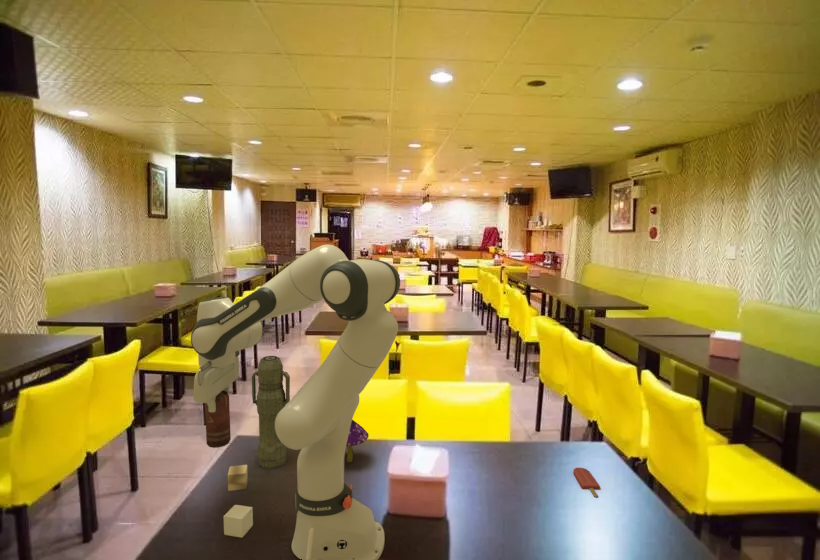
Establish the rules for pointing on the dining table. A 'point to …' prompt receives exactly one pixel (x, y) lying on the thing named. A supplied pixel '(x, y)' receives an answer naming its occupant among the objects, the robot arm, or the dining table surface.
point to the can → (218, 422)
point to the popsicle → (586, 480)
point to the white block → (238, 520)
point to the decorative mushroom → (355, 438)
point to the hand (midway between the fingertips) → (218, 406)
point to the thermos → (270, 410)
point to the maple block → (237, 477)
